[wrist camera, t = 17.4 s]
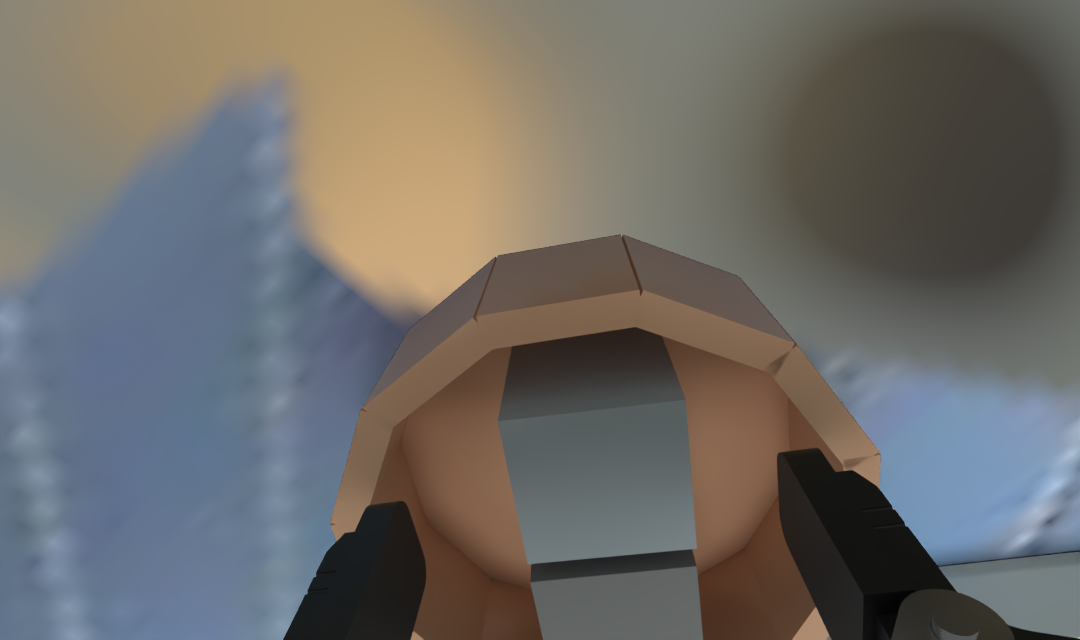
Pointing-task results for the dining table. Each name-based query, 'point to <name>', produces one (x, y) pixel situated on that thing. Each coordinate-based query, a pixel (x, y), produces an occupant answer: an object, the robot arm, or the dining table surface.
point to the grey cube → (597, 447)
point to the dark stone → (619, 597)
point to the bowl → (712, 415)
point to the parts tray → (1026, 590)
